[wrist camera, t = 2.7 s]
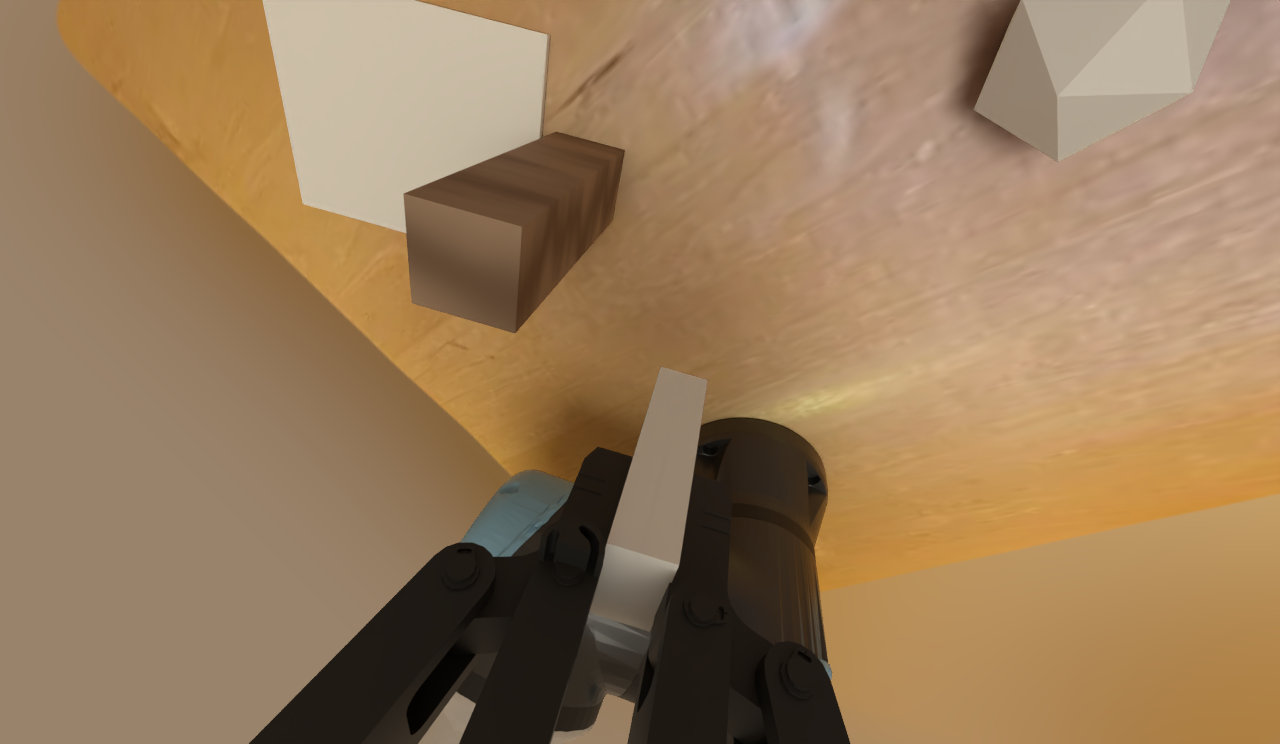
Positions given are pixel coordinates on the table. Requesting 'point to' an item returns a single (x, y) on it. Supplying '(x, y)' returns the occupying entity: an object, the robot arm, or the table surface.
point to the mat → (399, 97)
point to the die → (1094, 67)
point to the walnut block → (509, 228)
